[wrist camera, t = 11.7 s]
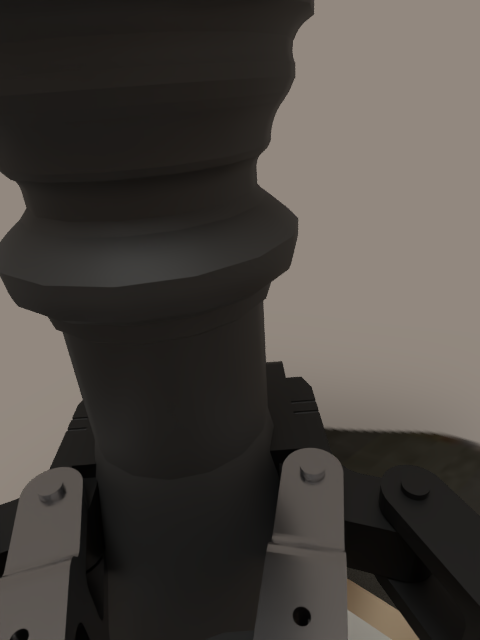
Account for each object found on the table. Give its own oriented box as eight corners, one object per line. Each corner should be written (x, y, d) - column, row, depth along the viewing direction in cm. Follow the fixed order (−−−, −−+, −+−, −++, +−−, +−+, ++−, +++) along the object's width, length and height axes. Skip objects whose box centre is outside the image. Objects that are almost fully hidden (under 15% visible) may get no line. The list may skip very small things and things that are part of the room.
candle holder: (345, 764, 15) (515, -535, 3) (174, 877, 13) (-923, -1279, 1) (268, 596, 20) (223, -147, 8) (136, 660, 18) (-164, -189, 6)
